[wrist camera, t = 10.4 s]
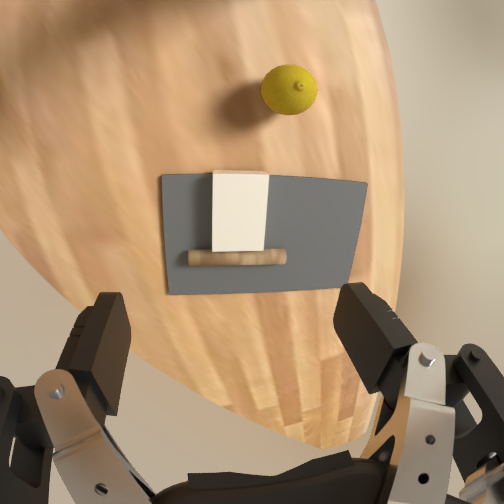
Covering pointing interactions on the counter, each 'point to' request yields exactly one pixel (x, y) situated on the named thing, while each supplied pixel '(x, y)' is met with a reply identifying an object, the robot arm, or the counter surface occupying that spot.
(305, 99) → the lemon
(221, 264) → the dowel
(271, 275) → the mat
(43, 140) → the counter surface
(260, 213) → the tile
